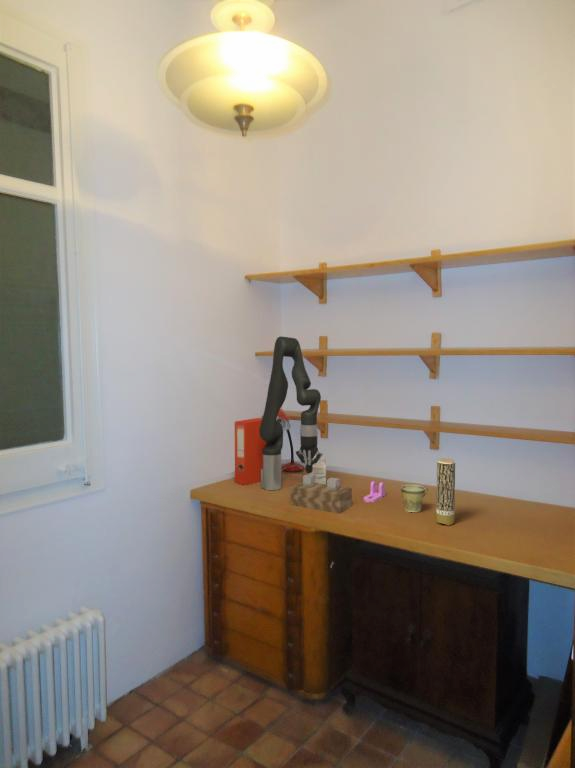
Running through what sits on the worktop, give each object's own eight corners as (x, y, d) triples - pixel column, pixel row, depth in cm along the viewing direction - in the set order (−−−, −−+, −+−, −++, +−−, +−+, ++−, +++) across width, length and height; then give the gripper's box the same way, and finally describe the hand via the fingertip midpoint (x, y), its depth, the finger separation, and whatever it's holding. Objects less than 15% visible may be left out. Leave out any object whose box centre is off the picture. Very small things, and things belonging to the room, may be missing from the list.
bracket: (373, 494, 247) (373, 480, 247) (384, 496, 244) (384, 481, 243) (361, 501, 237) (361, 486, 236) (372, 503, 233) (372, 488, 233)
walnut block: (290, 504, 232) (290, 487, 231) (303, 498, 242) (303, 481, 241) (339, 513, 219) (340, 494, 219) (351, 505, 229) (351, 488, 229)
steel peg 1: (302, 491, 233) (302, 476, 232) (307, 489, 236) (307, 474, 235) (310, 492, 230) (310, 477, 230) (315, 490, 234) (315, 475, 233)
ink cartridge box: (308, 490, 255) (308, 460, 254) (308, 487, 260) (308, 458, 259) (325, 490, 255) (325, 460, 253) (326, 487, 259) (326, 458, 258)
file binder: (269, 479, 276) (268, 419, 274) (246, 486, 263) (245, 422, 261) (258, 476, 282) (257, 417, 279) (235, 483, 269) (234, 421, 266)
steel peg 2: (327, 495, 226) (327, 479, 226) (331, 493, 230) (331, 477, 229) (335, 496, 224) (335, 480, 224) (339, 494, 228) (339, 478, 227)
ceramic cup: (410, 515, 216) (411, 492, 215) (395, 509, 225) (396, 486, 224) (435, 511, 221) (435, 488, 220) (420, 505, 230) (420, 482, 229)
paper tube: (434, 520, 210) (435, 458, 208) (451, 520, 210) (452, 458, 208) (438, 526, 203) (439, 462, 202) (456, 526, 203) (457, 462, 201)
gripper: (291, 434, 232) (292, 473, 233) (318, 436, 225) (318, 476, 226) (300, 432, 238) (300, 469, 239) (326, 434, 231) (326, 472, 232)
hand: (309, 472), depth 233 cm, fingers closed
